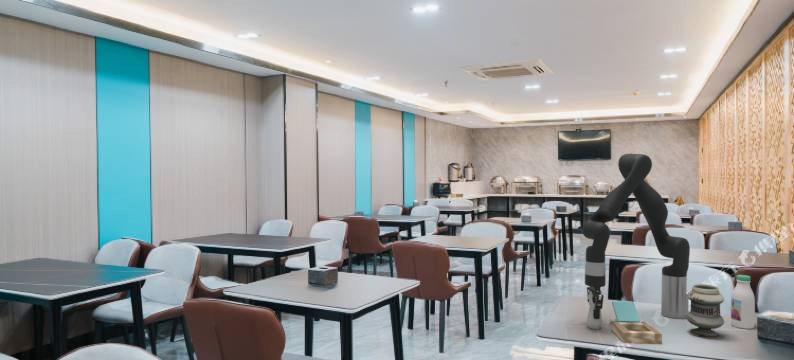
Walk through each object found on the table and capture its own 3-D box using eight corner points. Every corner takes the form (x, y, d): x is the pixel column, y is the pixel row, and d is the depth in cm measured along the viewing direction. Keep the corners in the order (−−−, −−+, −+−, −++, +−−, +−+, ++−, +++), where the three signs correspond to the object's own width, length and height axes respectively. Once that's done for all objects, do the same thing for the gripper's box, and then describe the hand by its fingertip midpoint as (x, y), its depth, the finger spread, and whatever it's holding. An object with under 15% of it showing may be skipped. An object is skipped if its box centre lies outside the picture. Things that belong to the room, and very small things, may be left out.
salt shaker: (603, 330, 198) (604, 296, 198) (587, 329, 200) (588, 295, 199) (600, 326, 204) (601, 293, 204) (585, 325, 205) (585, 292, 205)
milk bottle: (752, 324, 206) (753, 274, 206) (756, 330, 199) (757, 278, 199) (729, 322, 209) (730, 273, 209) (732, 327, 202) (733, 276, 202)
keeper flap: (632, 303, 205) (633, 301, 204) (639, 323, 198) (639, 321, 198) (611, 302, 206) (612, 301, 205) (617, 322, 199) (618, 320, 198)
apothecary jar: (684, 335, 193) (685, 287, 193) (688, 327, 203) (689, 281, 202) (722, 341, 186) (723, 291, 186) (724, 333, 196) (725, 285, 196)
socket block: (638, 324, 206) (638, 316, 206) (661, 343, 184) (662, 333, 184) (604, 323, 207) (604, 315, 207) (623, 342, 185) (624, 332, 185)
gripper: (611, 277, 194) (610, 322, 194) (599, 269, 208) (599, 312, 209) (590, 276, 194) (589, 322, 195) (580, 269, 209) (579, 311, 209)
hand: (594, 316), depth 202 cm, fingers open, 4 cm apart
